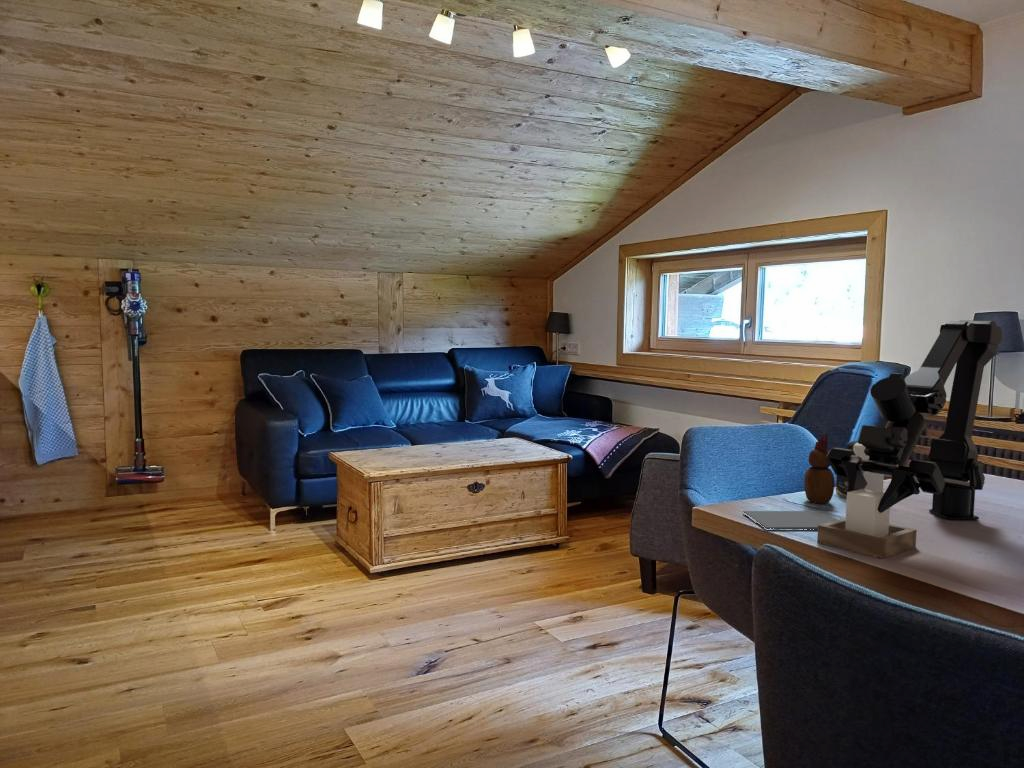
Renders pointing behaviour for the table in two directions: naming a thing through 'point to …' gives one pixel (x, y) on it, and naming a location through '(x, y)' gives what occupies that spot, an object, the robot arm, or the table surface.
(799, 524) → the slate mat
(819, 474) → the wooden figurine
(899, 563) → the table surface
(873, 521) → the white block
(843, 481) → the medicine bottle
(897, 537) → the wooden tray
